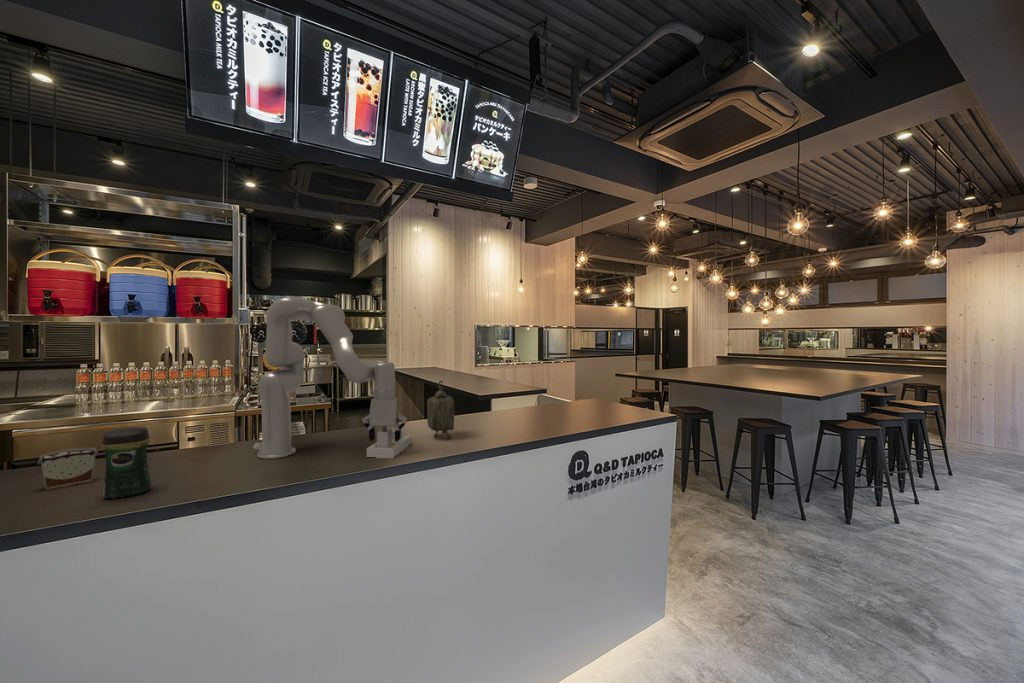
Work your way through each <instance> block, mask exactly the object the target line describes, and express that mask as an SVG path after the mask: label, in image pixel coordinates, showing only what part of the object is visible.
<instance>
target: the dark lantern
mask: <svg viewBox="0 0 1024 683" xmlns="http://www.w3.org/2000/svg"><path fill="white" fill-rule="evenodd" d="M438 388H439V390H438V391H436V393H435V394H434V396H431V397H429V398H427V403H426V404H427V405H426V406H427V411H426V413H427V414H426V415H427V426H428V427H429V429H431V430H432V431H434V432H435V433H434V435H433V437H434V438H435V439H436V438H438V437H439V435H438V432H441V433H442V435H445V434H446V436H447V439H448V440H451V438H452V436H451V435H449V432H448V431H453V430H454V429H455V405H454V404H455V402H454V399H453V397H452V396H450V395H448V394H447V392H446V391H444V383H443V381H442V380H439V381H438Z"/></svg>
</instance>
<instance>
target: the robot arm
mask: <svg viewBox="0 0 1024 683" xmlns="http://www.w3.org/2000/svg"><path fill="white" fill-rule="evenodd" d="M345 319H346V314H345V312H344V310H343V309H342V308H341V307H340V306H338V305H336V304H335V305H334V304H329V303H323V302H320V301H319V302H318V301H315V300H311V299H306V298H301V297H293V296H284V297H281V298H278V299H277V300H275V301H273V302H272V303H271V305H270V306H269V307H268V310H267V314H266V335H265V336H266V337H265V347H264V348H265V350H264V351H265V352H264V360H265V362H266V364H267V365H269V367H273V368H274V367H275V368H279V369H277V370H271V371H268V372H266V373H264V374H263V375H262V376H261V377H260V378H259V380H258V391H259V392H258V393H259V396H260V403H261V404H260V406H261V442H256V443H254V445H253V447H252V449H253V450H259V451H258V452H257V453H256V454H257V458H258V457H259V459H262V458H263V459H264V460H265V459H266V460H267V459H268V460H269V459H271V460H272V459H280V458H286V457H289V456H291V454H292V455H294V454H295V453H296V452H297V449H296V447H294V446H293V447H292V422H291V421H292V414H291V413H292V412H291V408H292V407H291V406H292V405H291V402H290V401H291V400H290V398H289V395H288V394H291V393H294V392H297V391H298V390H299V389H300V387H301V386H302V384H303V380H304V366H305V363H304V362H305V352H304V350H303V347H302V346H301V345H300V344H299V343H297V342H294V341H293V334H294V333H293V327H292V323H291V322H292V321H301V322H302V321H303V322H308V323H309V322H310V323H315V324H316V326H317V327H318V329H319V331H321V333H322V335H324V337H325V338H326V340H327V342H328V343H329V344H330V346H331V348H332V352H333V356H334V359H335V361H336V363H337V365H338V367H339V369H340V370H341V372H342V373H343V374H344V375H345V377H346V378H347V379H348V380H349V381H351V382H352V383H355V384H361V383H366V382H370V381H373V391H371V392H370V396H373V398H371V399H370V408H369V414H367V415H366V416H364V417H361V421H362V422H363V423H362V424H363V426H364V427H365V428H366V430H367V431H368V439H369V441H370V442H372V441H374V440H376V429H375V427H383V426H387V427H394V428H393V429H396V431H395V442H397V441H399V440H400V438H401V429H402V430H403V428H404V427H405V426H406V423H407V422H408V421H409V420H408V418H407V417H406V416H404V415H402V414H401V413H400V412H399V404H398V400H397V398H396V391H395V390H396V389H395V388H396V385H395V384H396V380H395V379H396V378H395V376H396V368H395V363H393V362H391V361H379V362H376V361H369V360H368V361H362V360H361V359H360V358H359V357H358V355H357V353H355V349H354V348H353V339H354V335H353V333H352V331H351V330H350V329H349V327H348V326H347V324H346V323H345ZM400 420H401V421H402V422H401V423H399V422H400ZM288 455H289V456H288Z"/></svg>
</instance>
